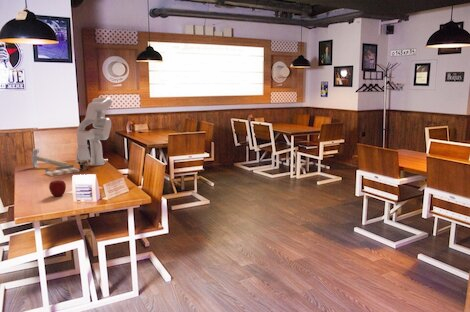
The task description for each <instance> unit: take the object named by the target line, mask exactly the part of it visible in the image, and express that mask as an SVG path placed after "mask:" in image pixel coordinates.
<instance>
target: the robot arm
mask: <svg viewBox="0 0 470 312" xmlns="http://www.w3.org/2000/svg"><path fill="white" fill-rule="evenodd" d="M111 106H112V99H110V97H95V98H93V99H92V101H91V102H89V103H88V105H87V109H86V113H85V117H84V119H83V120H82V121H81V122H80V123H79V124H78V127H77V131H76V141H77V142H76V143H77V149H76V151H75V152H76V153H75V155H76V159H75V160H74V162H75V163H77V164H79V170H82V169H83V165H82V162H84V161H85V162H88V164H89V166H94V167H95V166H103V165H105V164H106V162H108V161H109V159H108V158H104V157H103V145H102V142H101V141H106V140H108V138H109V137H110V134H111V133H110V132H111V129H112V120H111V119H110V118H109V117H105V116H106V111H107V110H109V108H110V107H111ZM91 124H92V127H93V128H91V129H89V130H85V128H86V127H87V126H89V125H91ZM88 141H89V144H88ZM89 147H90V149H89ZM89 166H88V168H90V167H89Z"/></svg>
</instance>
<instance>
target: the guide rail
mask: <svg viewBox="0 0 470 312" xmlns="http://www.w3.org/2000/svg"><path fill="white" fill-rule="evenodd" d="M73 167H74V164H71V165H69V164H68V165H67V166H62V167H60V166H57V167H56V166H55V167H50V168H45V169H44V172H47V171H54V170H60V169H67V168H73ZM74 168H75V167H74Z"/></svg>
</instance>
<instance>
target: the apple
mask: <svg viewBox="0 0 470 312" xmlns="http://www.w3.org/2000/svg"><path fill="white" fill-rule="evenodd" d="M48 189H49V191H50V194H51V195H52V196H53V197H60V196H64V194H65V193H66V189H67V186H66V182H65V181H63V180H53V181H50V182H49V185H48Z"/></svg>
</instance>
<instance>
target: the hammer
mask: <svg viewBox="0 0 470 312" xmlns="http://www.w3.org/2000/svg"><path fill="white" fill-rule="evenodd" d="M39 152H40V149H38V148H33V149H32V154H31V158H30V159H31V163H32V166H33V167H34V168H35V169H37V168H39V167H40V166H39V165H38V162H43V163H46V164H49V165H53V166H55V167H56V166H57V167H62V166H68V162H66V161H62V160H57V159H52V158H48V157H44V156H40V155H39ZM36 167H37V168H36Z"/></svg>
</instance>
